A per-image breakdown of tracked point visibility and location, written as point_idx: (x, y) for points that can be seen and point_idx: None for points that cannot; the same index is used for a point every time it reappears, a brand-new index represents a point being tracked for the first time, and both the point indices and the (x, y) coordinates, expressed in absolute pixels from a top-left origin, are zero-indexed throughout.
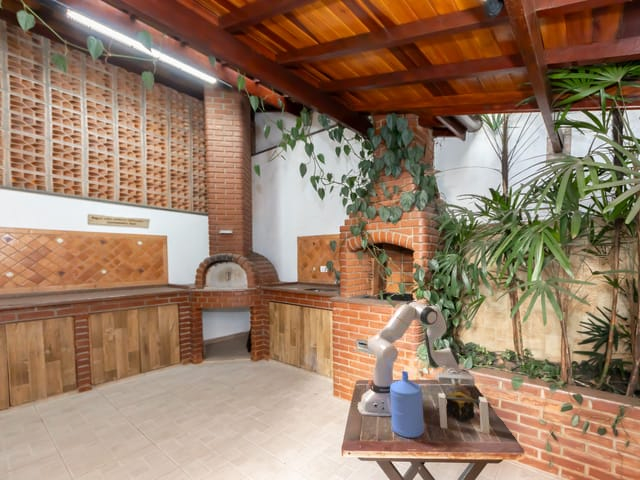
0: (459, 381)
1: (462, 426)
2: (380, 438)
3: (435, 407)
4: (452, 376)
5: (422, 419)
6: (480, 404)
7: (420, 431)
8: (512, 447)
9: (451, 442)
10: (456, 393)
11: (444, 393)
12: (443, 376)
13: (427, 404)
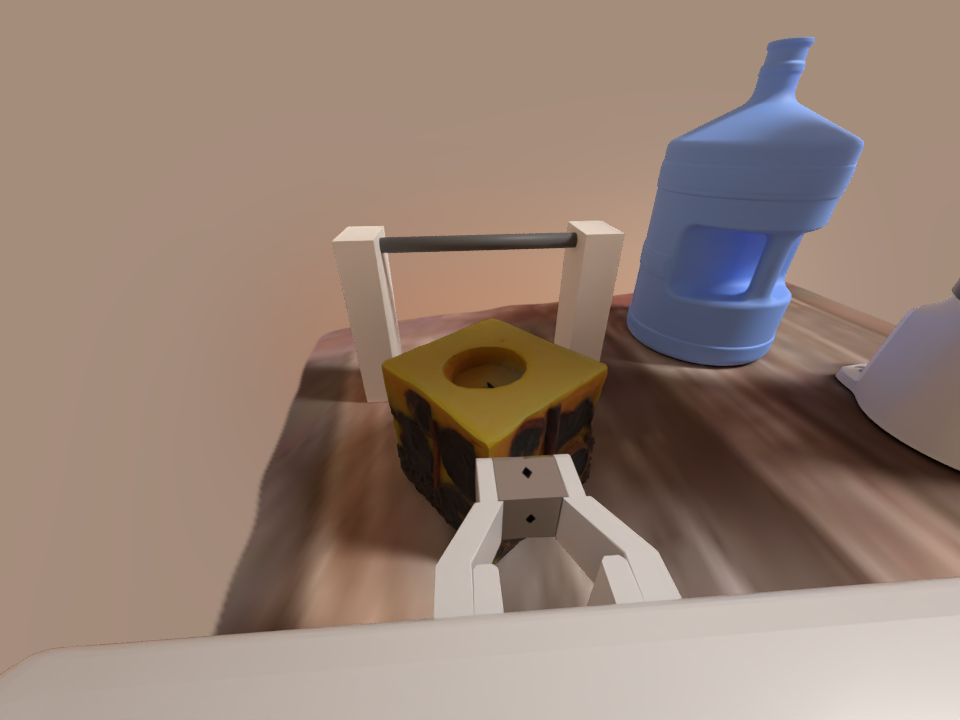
0: (475, 506)
1: None
2: None
3: (698, 541)
4: (709, 715)
5: (638, 280)
6: (384, 257)
7: (630, 304)
8: (329, 337)
9: (526, 320)
10: (521, 404)
11: (587, 234)
12: (948, 615)
13: (796, 578)
